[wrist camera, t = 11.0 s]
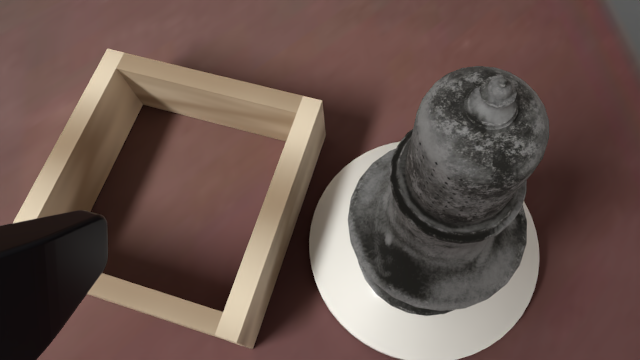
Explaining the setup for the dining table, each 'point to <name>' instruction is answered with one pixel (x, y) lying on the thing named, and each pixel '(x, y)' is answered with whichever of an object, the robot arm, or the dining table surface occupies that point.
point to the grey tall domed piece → (451, 195)
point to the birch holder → (206, 104)
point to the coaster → (394, 324)
